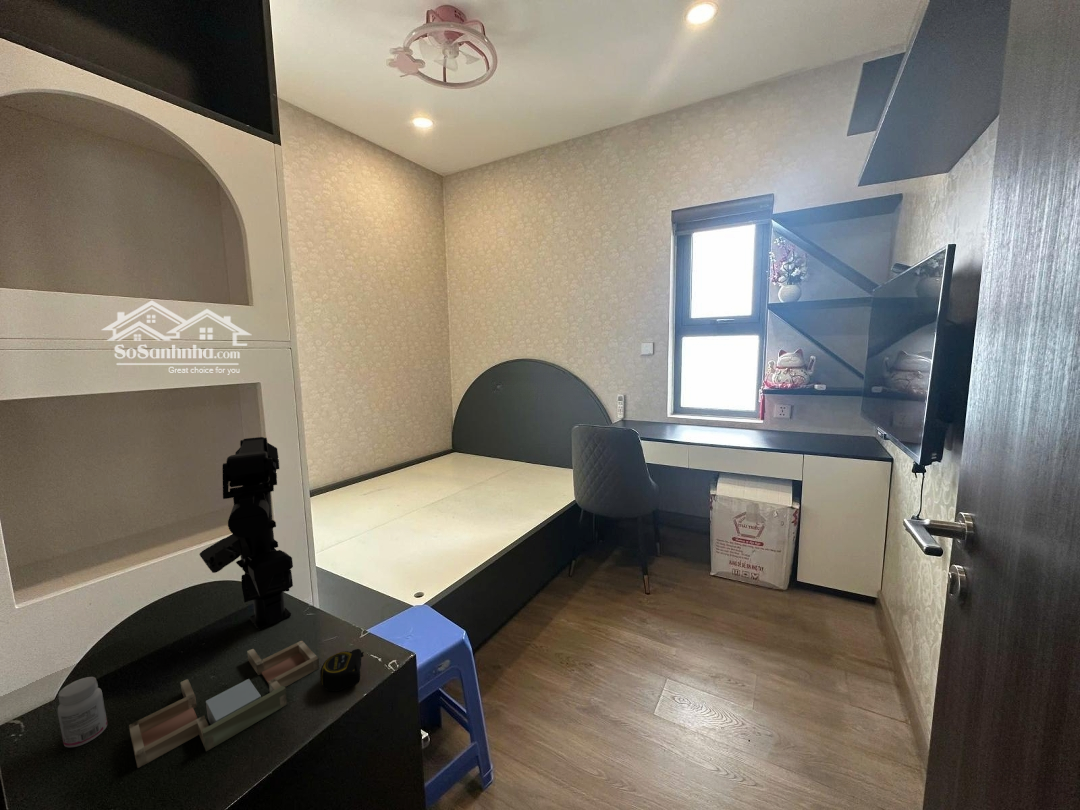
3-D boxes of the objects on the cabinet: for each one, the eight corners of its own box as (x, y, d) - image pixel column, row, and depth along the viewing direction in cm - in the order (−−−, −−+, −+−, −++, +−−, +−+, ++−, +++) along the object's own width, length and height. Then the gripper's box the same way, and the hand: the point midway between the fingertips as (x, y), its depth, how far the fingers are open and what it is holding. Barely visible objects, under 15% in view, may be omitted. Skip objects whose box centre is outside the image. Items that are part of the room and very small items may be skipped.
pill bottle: (76, 727, 68) (68, 679, 67) (114, 718, 69) (107, 670, 68) (55, 753, 63) (45, 702, 62) (96, 742, 65) (88, 692, 64)
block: (208, 720, 69) (205, 700, 68) (250, 697, 73) (248, 678, 73) (218, 741, 65) (216, 720, 64) (263, 715, 69) (260, 695, 69)
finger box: (126, 719, 69) (124, 702, 69) (293, 639, 88) (291, 625, 87) (142, 788, 58) (139, 769, 57) (329, 679, 76) (328, 664, 76)
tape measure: (360, 690, 74) (359, 670, 74) (317, 700, 72) (315, 680, 72) (364, 663, 81) (363, 645, 80) (324, 671, 79) (323, 653, 78)
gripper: (189, 520, 81) (199, 596, 83) (215, 547, 69) (225, 635, 71) (256, 503, 89) (264, 573, 91) (289, 525, 77) (297, 604, 79)
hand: (262, 594), depth 83 cm, fingers closed
